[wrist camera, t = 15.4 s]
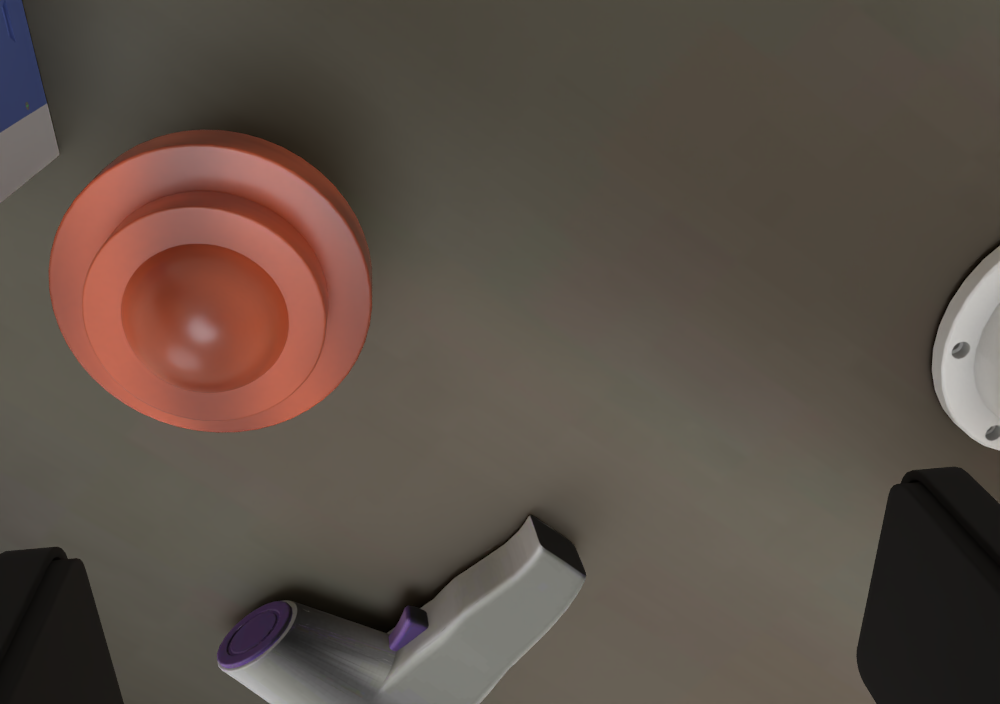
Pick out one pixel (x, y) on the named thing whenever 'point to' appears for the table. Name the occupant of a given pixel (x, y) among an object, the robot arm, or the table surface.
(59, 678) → the robot arm
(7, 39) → the walkman
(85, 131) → the table surface
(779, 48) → the table surface
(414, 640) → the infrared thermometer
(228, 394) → the mushroom
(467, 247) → the table surface
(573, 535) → the table surface
